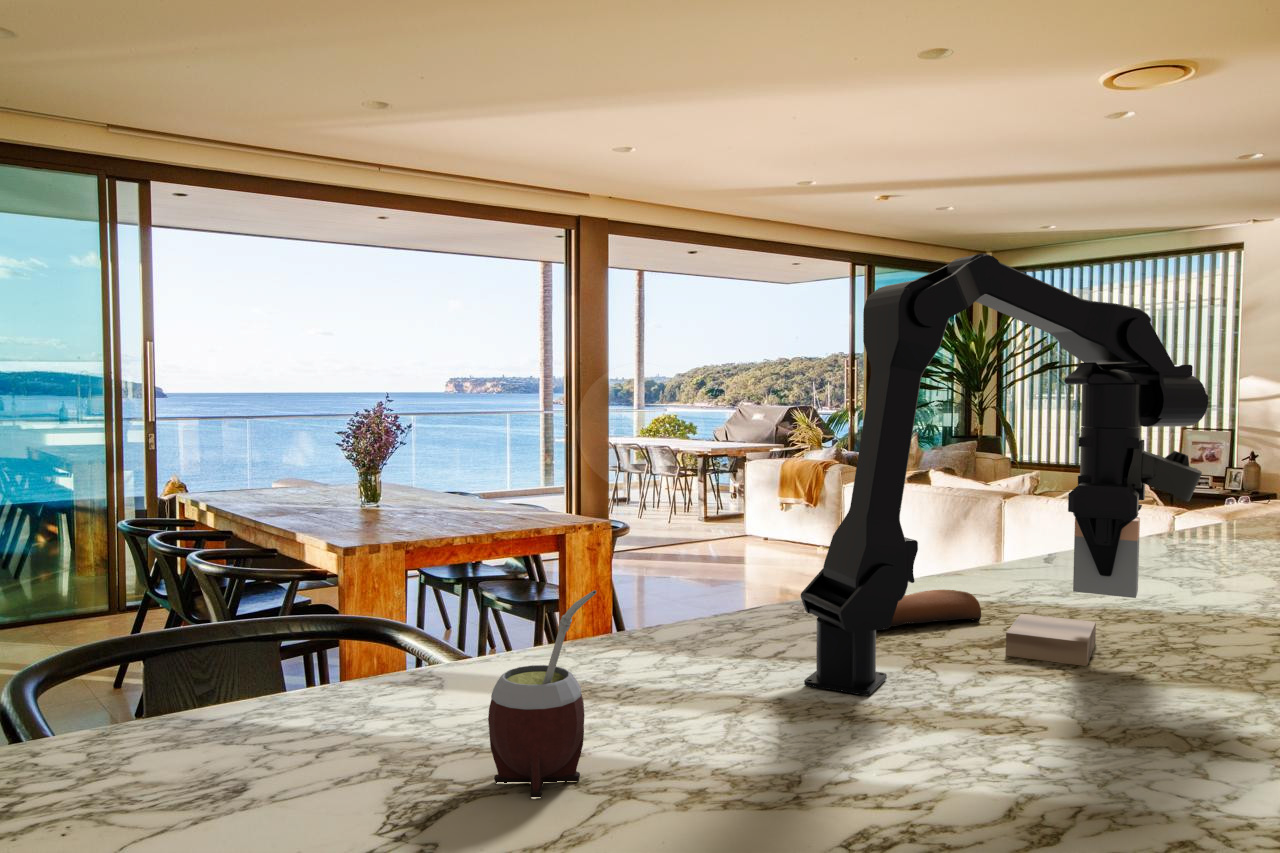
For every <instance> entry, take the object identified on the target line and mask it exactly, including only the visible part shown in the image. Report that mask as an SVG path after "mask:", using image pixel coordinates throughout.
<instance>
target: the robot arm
mask: <svg viewBox="0 0 1280 853" xmlns="http://www.w3.org/2000/svg"><path fill="white" fill-rule="evenodd" d="M974 303H978V304H980V305H982V306H985V307H987V308H989V309H992V310H994V311H997V312H999V313H1001V314H1003V315H1006V316H1008V317H1010V318H1013V319H1015V320H1018V321H1020V322H1021V323H1025V324H1027V325H1030V326H1032V327H1034V328H1037V329H1039V330H1041V331H1043V332H1046V333H1048V334H1049V335H1051V336H1052V337H1054V338H1056V340H1057V341H1058V343H1059V344H1060V346H1061V348H1062V349H1063V350H1065V351H1066V352H1068V353H1069V354H1071V355H1072V356H1074V357H1075V358H1077V359H1078V360H1079V361H1081V362H1080V363H1079V364H1078V367H1077V368H1076V369H1075V370H1073V371H1072V372H1070V373H1069V374H1068V375H1067V376H1066V377H1065V378H1064V380H1063V381H1064V383H1065V385H1074V386H1075V385H1081V407H1080V408H1081V409H1080V410H1081V411H1080V412H1081V414H1080V415H1081V416H1080V417H1081V418H1080V420H1081V421H1080V423H1081V424H1080V426H1081V427H1080V436H1078V447H1080V460H1079V463H1080V466H1079V474H1078V475H1077V486H1076V487H1074V488H1073V489H1072V490H1071V491H1070V492H1068V494H1067V495H1068V496H1067V498H1068V499H1067V500H1068V501H1067V507H1068V508H1067V511H1068V512H1069V513H1073V516H1074V519H1075V518H1076V520H1077V522H1078V525H1079V527H1080V529H1081V531H1082V534H1083V536H1084V538H1085V541H1086V543H1087V545H1088V548H1089V550H1090V553H1091V555H1092V557H1093V560H1094V562H1095V565H1096V567H1097V569H1098V572H1099V574H1100V575H1101V576H1111V575H1112V571H1113V567H1114V562H1115V558H1116V554H1117V549H1118V545H1119V541H1120V536H1121V532H1122V529H1123V528H1124V527H1125V526H1126V525H1128V524H1129V523H1130V522H1132V521H1133V520H1134V519H1136V518H1137V517H1138V516H1139V511H1140V510H1141V509H1142V507H1143V505H1142V504H1140V502H1139V501H1145V498H1146V486H1149V487H1152V488H1155V489H1157V490H1160V491H1163V492H1166V493H1168V494H1170V495H1173V497H1174V498H1176V499H1179V500H1182V501H1185V502H1190V500H1191V498H1192V496H1193V494H1194V492H1195V489H1196V488H1197V485H1198V483H1199V481H1200V479H1201V476H1202V475H1203V474H1202V473H1203V472H1202V470H1200V469H1198V468H1196V467H1193V466H1192V467H1191V466H1190V462H1189V461H1190V460H1189V455H1188V454H1186V453H1182V452H1179V451H1176V450H1173V451H1171V452H1170V453H1169V454H1168V455H1167V456H1165V457H1164V456H1162V455H1159V454H1155V453H1153V452H1152V453H1151V452H1150V451H1147V450H1145V439H1142V436H1141V427H1144V428H1146V427H1149V428H1151V427H1152V428H1154V427H1156V428H1157V427H1158V428H1159V427H1165V428H1166V427H1191V426H1194V425H1196V424H1198V423H1199V422H1200V421H1201V420H1202V419H1203V418H1204V416H1205V414H1206V413H1207V410H1208V408H1209V406H1208V405H1209V395H1208V394H1207V391H1206V388H1205V387H1204V385H1203V383H1202V382H1201V381H1200V379H1198V378H1197V377H1195V376H1194V375H1193V365H1192V364H1175V363H1174V362H1173V360H1172V359H1171V357H1170V355H1169V353H1168V352H1167V350H1166V348H1165V347H1164V344H1163V343H1162V341H1161V339H1160V337H1159V336H1158V334H1157V332H1156V331H1155V329H1154V327H1153V325H1152V323H1151V321H1152V318H1151V316H1150V315H1149V314H1148V313H1147V312H1145V311H1144V310H1143V309H1141V308H1137V307H1133V306H1127V305H1123V304H1121V303H1120V304H1119V303H1113V302H1104V301H1093V300H1089V299H1084V298H1080V297H1079V296H1076V295H1074V294H1072V293H1069V292H1067V291H1066V290H1063V289H1060V288H1058V287H1056V286H1054V285H1053V284H1049V283H1047V282H1045V281H1042V280H1041V279H1039V278H1035V277H1034V276H1031V275H1029V274H1027V273H1024V272H1022V271H1020V270H1018V269H1016V268H1014V267H1011V266H1008V265H1007V264H1005V263H1003V262H1000V261H999V259H997V258H996V257H995V256H993V255H990V254H988V253H977V254H972V255H968V256H963V257H960V258H958V257H957V258H955V259H953V260H951V262H950V263H948V264H946V265H945V266H943V267H940V268H939V269H937V270H934V271H932V272H929V273H928V274H925V275H923V276H921V277H917V278H916V279H913V280H910V281H909V280H908V281H903V282H899V283H893V284H887V285H885V286H881V287H878V288H877V289H876V290H875V291H873V292H872V293H871V294H869V295H868V297H867V298H866V301H865V303H864V306H863V312H862V313H863V316H862V317H863V319H862V320H863V324H862V326H863V330H862V331H863V332H862V333H863V334H862V335H863V337H862V338H863V341H862V342H863V345H864V349H865V351H866V354H867V359H868V362H869V366H870V378H869V385H868V390H867V392H868V393H867V396H866V397H867V399H866V404H865V409H864V410H865V411H864V418H863V423H862V430H861V437H860V442H859V448H858V456H857V462H856V468H855V474H854V481H853V487H852V488H853V489H852V492H851V501H850V506H849V508H848V512H847V514H846V515H845V517H844V518H843V520H842V521H841V523H840V524H839V525H838V527H837V528H836V530H835V532H834V533H833V534H832V537H831V541H830V543H829V544H830V545H829V548H828V550H827V553H826V557H825V560H824V562H823V567H822V569H821V570H820V571H819V572H818V573H817V574H816V576H815V577H814V578H813V579H812V580H811V581H810V582H809V584H808V585H807V586H806V587H805V588H804V589H803V590H802V591H801V593H800V598H801V602H802V604H803V607H804V610H805V612H806V613H807V614H808V615H809V614H811V615H813V616H815V617H817V618H816V669H815V671H814V672H813V673H812V674H810V675H809V676H807V677H806V678H805V679H804V681H803V682H804V686H807V687H812V688H813V687H814V688H819V689H826V690H830V691H838V692H843V693H850V694H856V695H862V696H869V695H871V694H872V693H873V692H874V691H875V690H876V689H877V688H879V687H880V686H881V684H883V683H884V682H885V680H887V676H888V674H887V673H886V672H881V671H880V672H879V671H877V669H876V668H877V666H876V665H877V664H876V663H877V661H876V659H877V658H876V656H877V631H880V630H882V631H883V630H888V629H890V628H891V626H890V625H891V622H892V619H893V616H894V613H895V610H896V607H897V604H898V601H901V600H902V599H903V597H904V595H906V592H907V590H908V586H909V583H911V584H914V583H915V576H914V565H915V561H916V557H917V555H918V550H919V541H918V540H916V539H913V538H909V537H905V534H904V532H903V531H904V530H903V528H902V525H901V520H900V519H901V516H900V515H901V511H902V503H903V497H904V491H905V490H904V489H905V484H906V477H907V471H908V464H909V458H910V452H911V447H912V446H911V444H912V439H913V431H914V425H915V419H916V414H917V407H918V399H919V395H920V387H921V380H922V376H923V375H924V372H925V371H926V369H927V367H928V366H929V364H930V363H931V362H932V360H933V358H934V357H935V356H936V354H937V352H938V351H939V350H940V348H941V345H942V341H943V339H944V336H945V333H946V329H947V327H948V323H949V320H950V319H951V318H953V317H954V316H956V315H958V314H959V313H961V312H963V311H965V310H966V309H968V308H970V307H971V306H972V305H974Z"/></svg>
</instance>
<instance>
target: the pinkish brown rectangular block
mask: <svg viewBox="0 0 1280 853" xmlns="http://www.w3.org/2000/svg"><path fill="white" fill-rule="evenodd" d="M1096 627H1097V622H1096V621H1090V620H1081V619H1074V618H1073V619H1072V618H1065V617H1064V618H1063V617H1054V616H1045V615H1035V614H1029V613H1027V614H1026V613H1020V614H1019V615H1018V617H1017V618H1016V619H1015V620H1014V622H1013V623H1012V624H1011V626H1010V627H1009V628H1008V629H1007V631H1006V632H1005V656H1008V657H1014V658H1021V659H1027V660H1028V659H1030V660H1036V661H1037V660H1038V661H1045V662H1051V663H1060V664H1067V665H1076V666H1083V667H1087V666H1088V664H1089V662H1090V659H1091V657H1092V654H1093V652H1092V651H1094V649H1095V646H1096V640H1097V639H1096V633H1097V628H1096Z"/></svg>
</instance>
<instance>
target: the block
mask: <svg viewBox="0 0 1280 853" xmlns="http://www.w3.org/2000/svg"><path fill="white" fill-rule="evenodd" d="M1140 522H1141V517H1138V516H1137V518H1136V519H1134V520H1133V521H1132V522H1130V523H1129V524H1128V525H1126V526H1125V527H1124V528H1123V529H1122V532H1121V536H1120V541H1119V545H1118V549H1117V554H1116V558H1115V562H1114V567H1113V571H1112V575H1111V576H1101V575H1100V574H1099V572H1098V569H1097V567H1096V565H1095V562H1094V560H1093V557H1092V555H1091V553H1090V550H1089V548H1088V545H1087V543H1086V541H1085V538H1084V536H1083V534H1082V531H1081V529H1080V527H1079V525H1078V522H1077V520H1076V518H1075V517H1074V537H1073V538H1074V540H1073V541H1074V542H1073V545H1074V546H1073V547H1074V548H1073V576H1072V578H1073V580H1072V581H1073V582H1072V583H1073V586H1072V592H1074V593H1083V594H1093V595H1100V596H1101V595H1102V596H1112V597H1119V598H1120V597H1122V598H1132V599H1136V598H1137V595H1138V592H1139V562H1140V559H1139V558H1140V530H1141V528H1140V526H1141V525H1140V524H1141V523H1140Z"/></svg>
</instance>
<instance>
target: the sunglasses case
mask: <svg viewBox="0 0 1280 853" xmlns="http://www.w3.org/2000/svg"><path fill="white" fill-rule="evenodd" d="M964 619H965V620H966V619H969V620H971V619H973V620H972V621H974V620H975V622H977V621H979V622H980V621H981V619H982V608H981V605H980V602H979V600H978V598H976V596H975V595H973V594H972V593H970V592H967V591H964V590H963V591H961V590H956V589H931V590H924V591H919V592H914V593H911V594H910V593H909V594H905V595H904V597H903V599H902V600H901V601H898V604H897V607H896V610H895V613H894V616H893V619H892V622H891V625H890V627H897V626H901V625H902V626H903V625H906V624H909V625H911V624H924V623H925V624H926V623H930V622H935V621H936V622H947V621H948V622H949V621H955V620H964Z"/></svg>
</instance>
